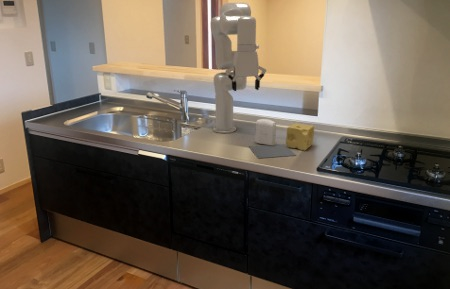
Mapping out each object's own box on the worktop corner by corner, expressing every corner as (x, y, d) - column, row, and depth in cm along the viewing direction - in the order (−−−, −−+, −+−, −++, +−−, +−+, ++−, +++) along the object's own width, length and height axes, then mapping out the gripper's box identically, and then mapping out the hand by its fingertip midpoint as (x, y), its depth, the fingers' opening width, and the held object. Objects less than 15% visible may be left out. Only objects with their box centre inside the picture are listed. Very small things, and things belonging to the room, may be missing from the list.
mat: (249, 147, 195) (249, 146, 194) (284, 144, 198) (284, 143, 198) (258, 158, 180) (258, 158, 180) (296, 155, 183) (296, 155, 183)
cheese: (305, 151, 189) (307, 130, 185) (284, 146, 194) (285, 126, 191) (313, 145, 197) (315, 125, 194) (292, 141, 202) (294, 122, 199)
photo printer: (276, 144, 198) (277, 119, 194) (272, 146, 194) (273, 121, 191) (258, 141, 203) (258, 117, 199) (254, 143, 200) (254, 119, 196)
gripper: (263, 47, 169) (262, 87, 175) (223, 48, 166) (223, 89, 171) (269, 48, 162) (268, 90, 168) (227, 50, 159) (227, 92, 164)
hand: (245, 90), depth 169 cm, fingers open, 9 cm apart
